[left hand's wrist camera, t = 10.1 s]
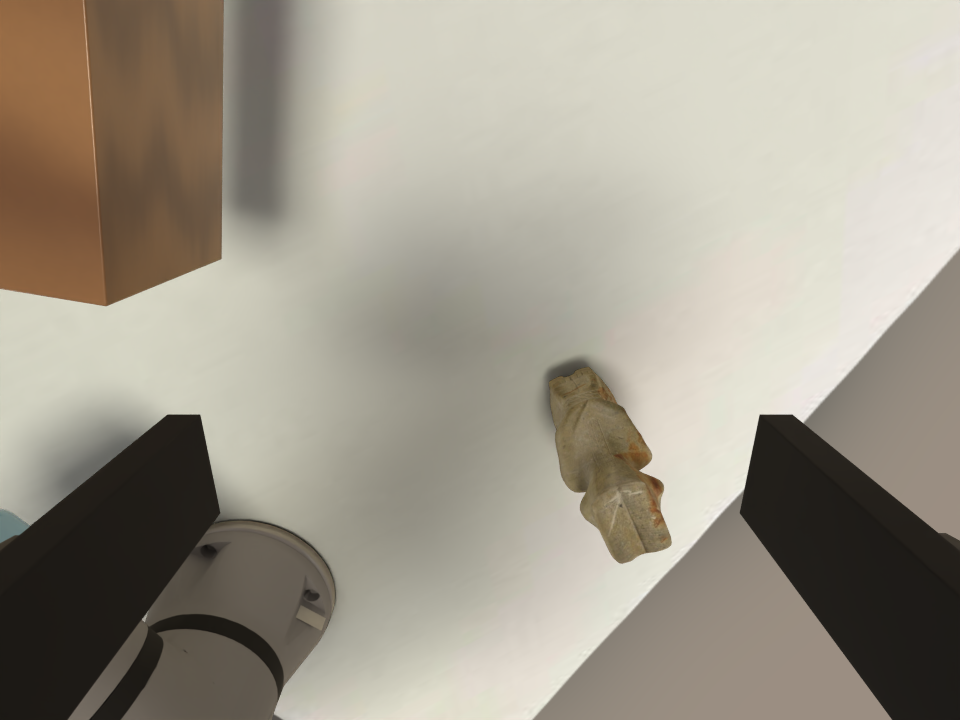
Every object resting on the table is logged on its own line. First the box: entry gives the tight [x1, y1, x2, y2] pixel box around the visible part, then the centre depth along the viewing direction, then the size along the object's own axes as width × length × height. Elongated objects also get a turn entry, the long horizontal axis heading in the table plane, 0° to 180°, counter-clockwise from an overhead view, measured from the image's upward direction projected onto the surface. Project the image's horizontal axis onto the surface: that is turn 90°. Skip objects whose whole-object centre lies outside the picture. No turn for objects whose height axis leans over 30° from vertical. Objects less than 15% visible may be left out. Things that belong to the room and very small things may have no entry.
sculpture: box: [549, 367, 672, 564], centre depth 35 cm, size 6×7×15 cm
